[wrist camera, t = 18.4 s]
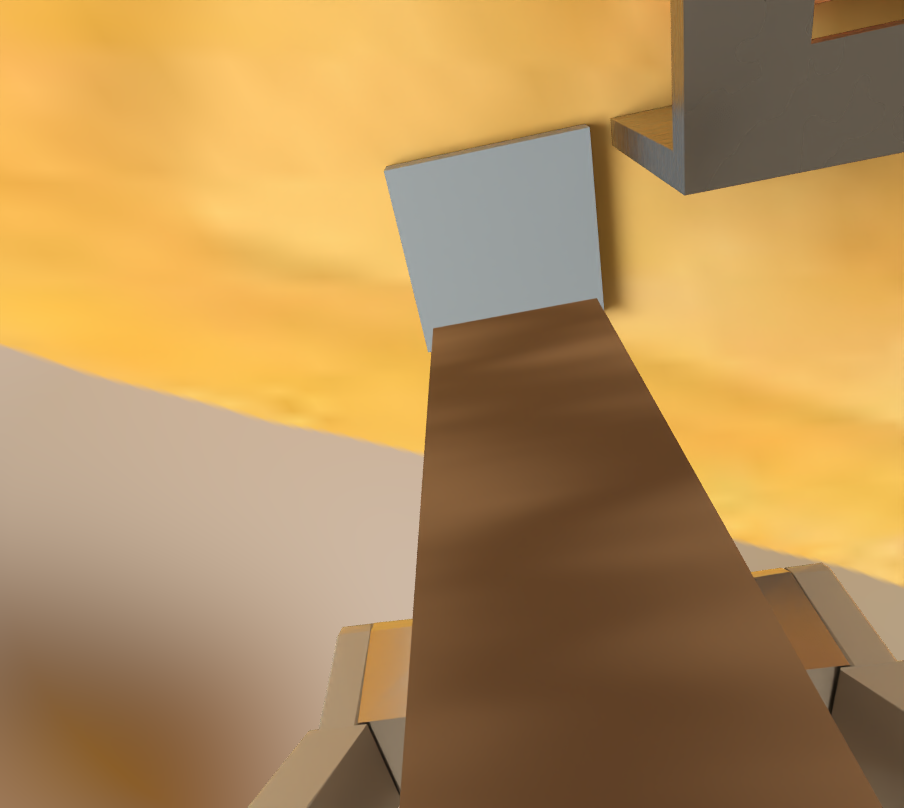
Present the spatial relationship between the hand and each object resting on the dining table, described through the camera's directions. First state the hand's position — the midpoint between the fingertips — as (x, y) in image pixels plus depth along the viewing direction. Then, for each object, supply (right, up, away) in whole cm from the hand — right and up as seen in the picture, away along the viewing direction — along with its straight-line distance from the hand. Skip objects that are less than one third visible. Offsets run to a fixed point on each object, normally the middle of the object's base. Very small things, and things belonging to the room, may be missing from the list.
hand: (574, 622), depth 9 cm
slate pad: (0, +10, +17) cm, 20 cm away
